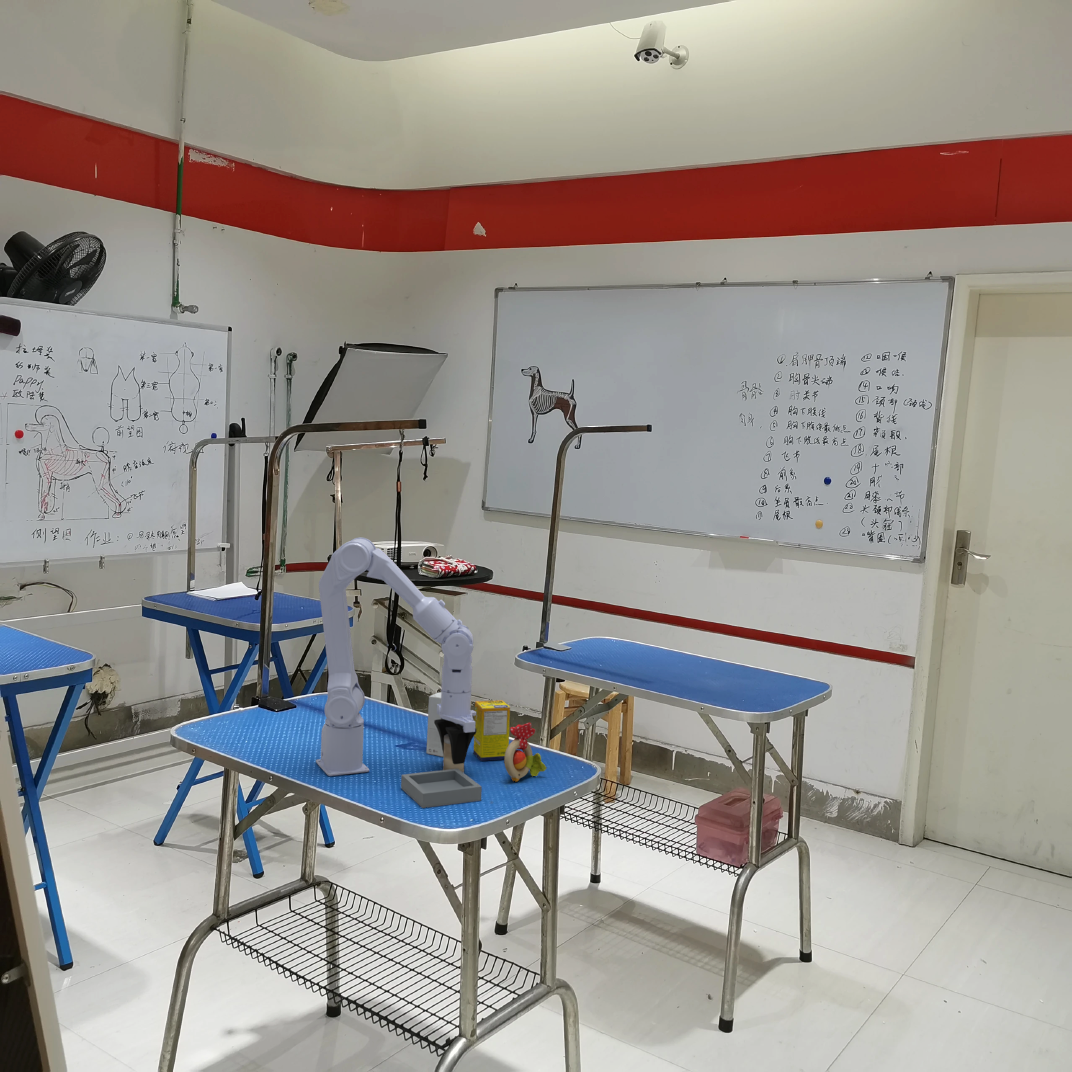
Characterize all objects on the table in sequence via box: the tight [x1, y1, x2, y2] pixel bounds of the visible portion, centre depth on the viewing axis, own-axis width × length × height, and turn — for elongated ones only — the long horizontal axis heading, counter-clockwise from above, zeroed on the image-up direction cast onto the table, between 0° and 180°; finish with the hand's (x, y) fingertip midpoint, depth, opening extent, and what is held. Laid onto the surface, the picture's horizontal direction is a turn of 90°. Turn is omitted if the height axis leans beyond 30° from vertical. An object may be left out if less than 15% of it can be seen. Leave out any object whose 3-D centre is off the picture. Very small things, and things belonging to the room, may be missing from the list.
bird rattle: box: [503, 722, 548, 783], centre depth 190 cm, size 6×11×9 cm
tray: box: [400, 769, 483, 809], centre depth 179 cm, size 11×11×2 cm
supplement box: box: [473, 699, 511, 762], centre depth 203 cm, size 6×6×11 cm
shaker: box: [442, 734, 465, 774], centre depth 192 cm, size 4×4×7 cm
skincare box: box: [425, 692, 444, 758], centre depth 205 cm, size 6×4×12 cm
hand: (453, 759), depth 192 cm, fingers closed on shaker, 4 cm apart
